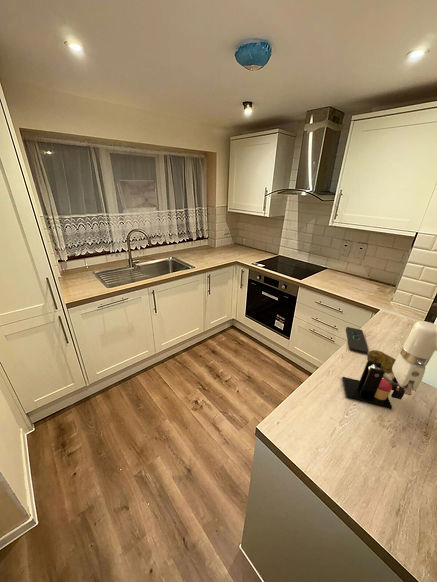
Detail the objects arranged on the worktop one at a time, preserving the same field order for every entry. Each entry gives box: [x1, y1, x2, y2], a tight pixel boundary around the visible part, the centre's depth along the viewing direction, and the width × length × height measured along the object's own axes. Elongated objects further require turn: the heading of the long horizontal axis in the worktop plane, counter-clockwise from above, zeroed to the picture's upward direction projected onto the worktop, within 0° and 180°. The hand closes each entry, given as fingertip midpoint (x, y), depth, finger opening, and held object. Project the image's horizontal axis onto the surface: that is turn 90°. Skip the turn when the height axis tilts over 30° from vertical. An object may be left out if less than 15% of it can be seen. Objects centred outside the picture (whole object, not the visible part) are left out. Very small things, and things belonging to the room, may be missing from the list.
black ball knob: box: [368, 364, 405, 389], centre depth 86 cm, size 14×3×3 cm
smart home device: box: [345, 326, 369, 355], centre depth 121 cm, size 8×2×20 cm
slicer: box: [341, 360, 393, 410], centre depth 88 cm, size 15×10×14 cm, turn 72°
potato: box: [366, 349, 396, 373], centre depth 102 cm, size 8×13×8 cm, turn 66°
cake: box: [374, 378, 393, 400], centre depth 88 cm, size 6×6×5 cm
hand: (394, 393), depth 87 cm, fingers closed on black ball knob, 3 cm apart
